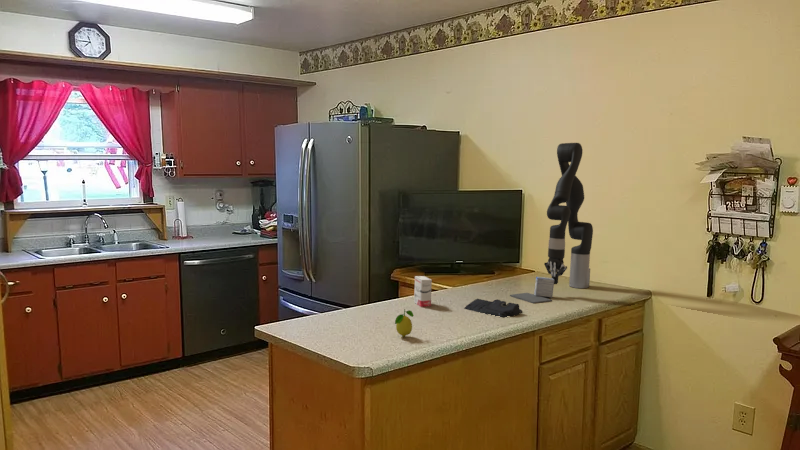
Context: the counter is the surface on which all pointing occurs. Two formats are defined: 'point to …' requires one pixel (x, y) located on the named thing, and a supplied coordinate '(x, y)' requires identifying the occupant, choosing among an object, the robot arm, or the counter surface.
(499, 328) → the counter surface
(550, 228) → the robot arm
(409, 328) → the lemon
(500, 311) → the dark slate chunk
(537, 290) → the medicine box
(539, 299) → the mat
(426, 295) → the ink box
